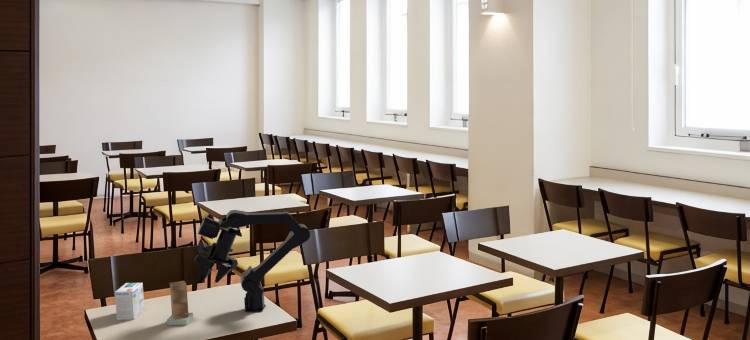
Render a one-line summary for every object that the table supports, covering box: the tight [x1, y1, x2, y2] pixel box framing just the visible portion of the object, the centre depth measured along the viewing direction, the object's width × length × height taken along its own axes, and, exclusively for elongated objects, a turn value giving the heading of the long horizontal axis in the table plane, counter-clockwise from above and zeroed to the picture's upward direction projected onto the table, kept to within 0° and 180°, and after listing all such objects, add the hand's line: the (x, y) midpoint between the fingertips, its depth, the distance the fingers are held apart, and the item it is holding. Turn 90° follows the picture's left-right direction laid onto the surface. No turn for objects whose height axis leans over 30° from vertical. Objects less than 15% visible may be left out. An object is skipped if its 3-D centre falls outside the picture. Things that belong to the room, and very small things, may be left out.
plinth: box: [166, 312, 194, 326], centre depth 245 cm, size 7×7×2 cm
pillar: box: [169, 280, 189, 320], centre depth 244 cm, size 5×5×12 cm
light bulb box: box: [114, 282, 145, 321], centre depth 253 cm, size 11×7×11 cm, turn 178°
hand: (208, 282), depth 251 cm, fingers open, 9 cm apart
